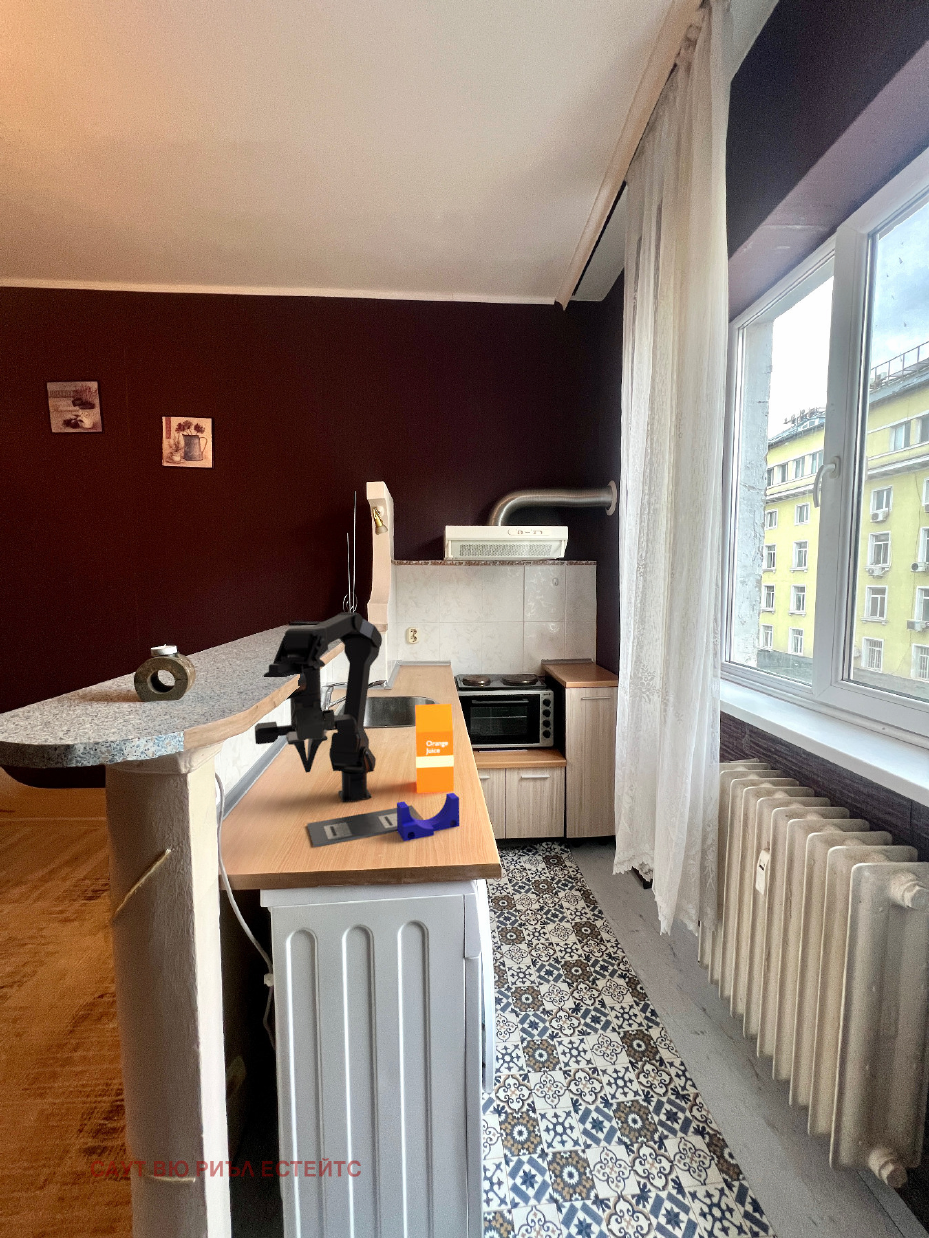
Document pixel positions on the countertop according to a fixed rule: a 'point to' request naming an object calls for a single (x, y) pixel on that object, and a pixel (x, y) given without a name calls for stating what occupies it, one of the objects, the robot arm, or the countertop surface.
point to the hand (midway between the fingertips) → (307, 771)
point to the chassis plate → (356, 826)
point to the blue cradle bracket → (427, 820)
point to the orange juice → (434, 748)
